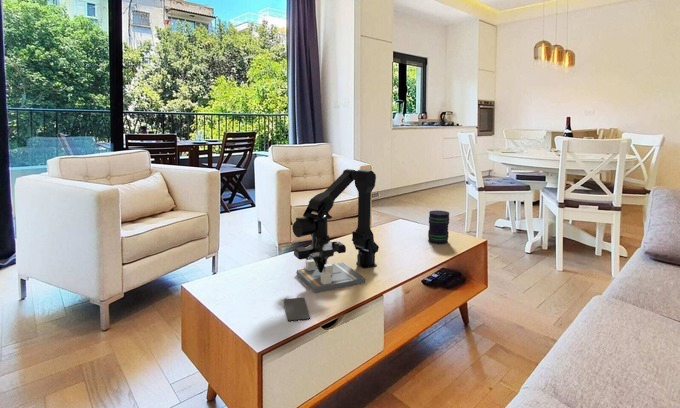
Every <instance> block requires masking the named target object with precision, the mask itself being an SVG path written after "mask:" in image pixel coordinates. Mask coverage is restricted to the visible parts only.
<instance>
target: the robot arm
mask: <svg viewBox="0 0 680 408" xmlns="http://www.w3.org/2000/svg"><path fill="white" fill-rule="evenodd" d="M376 179H377V176H376V173H375V172H374V171H373V170H367V169H358V170H355V169H349V168H346V169H344V170H343V171H342V173H341V175H339V177H337V178H336V179H335V180H334V181H333V182H332V183H331V185H329V186H328V187H327V188H326V189H325V190H324V191H322V192H320V193H318V194H316V195H315V196H313V197H312V198H310V200H309V201H308V205H307V207H306V209H305V211H304V212H303V215H302V216H301V217H300V216H298V217H296V218H295V221H294V222H293V225H292V232H293V234H294V236H295V237H297V238H302V237H304V236H305V237H306V236H311V240H312V241H311V244H310V245H311V247H312V249H306V247H305V246H299V247H295V249H293V256H294V257H295V258H297V259H298V260H306V259H307V258H309V256H310V257H312V258H313V259H314V261H315V263H316V266H317V268H318V270H319V272H320V273H321V272H322V271H323V268H324V265H325V264H327V263H326V260H327V261H328V259H329V258H331V257H334V256H335V255H334V254H335V253H338V254H343V253H346V251H347V249H346V248H347V247H346V245H345V244H343V243H342V242H340V241H337V240H336V241H331V240H330V235H329V233H328V227H329V226H328V224H329V223H328V220H330V219H333V216H332V215H330V211H331V209H333V208H334V207H333V206H334V203H335V201H336V200H337V198H338V197H339V196H340V195H341V194H342V193H343V192H344V191H345V190H346V189H347V188H348V187H349V186H350V185H351V184H352V182H354V186H355V189H356V190H357V194H358V197H357V198H358V203H357V227H356V229H355V230H354V231H352V232H351V235H352V236H351V237H352V238H351V241H352V243H353V246H354V248H355V250H357V251H358V253H357V254H356V256H357V258H356V260H357V261H356V265H358V266H359V267H361V268H363V269H366V268H367V269H368V268H372V267H377V265H378V264H377V263H376V253H378V252H379V249H380V247H379V245H378V244H377V242H375V239H374V237H375V236H374V233H373V231H372V228H371V203H372V202H371V201H372V200H371V199H372V198H371V197H372V191H373V189H374V188H375V186H376V182H377V181H376Z"/></svg>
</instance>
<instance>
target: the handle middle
mask: <svg viewBox="0 0 680 408" xmlns="http://www.w3.org/2000/svg"><path fill="white" fill-rule="evenodd" d="M331 264H332V263H325V265H324V268H323V272H330V273H331V275H332V274H333V265H331Z"/></svg>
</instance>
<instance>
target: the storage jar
mask: <svg viewBox="0 0 680 408" xmlns="http://www.w3.org/2000/svg"><path fill="white" fill-rule="evenodd" d="M428 214H429V216H428V224H429V225H428V232H427V233H428V234H427V237H428V240H427V241H428V243H430V244H432V245H446V244H448V242H449V241H448V239H449V225H450V212H449V211H446V210H430V211H429V213H428Z"/></svg>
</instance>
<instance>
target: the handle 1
mask: <svg viewBox="0 0 680 408" xmlns="http://www.w3.org/2000/svg"><path fill="white" fill-rule="evenodd" d="M305 269H307V270H308V271H311V270H315V261H314V260H313V259H311V260H306V259H305Z"/></svg>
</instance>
